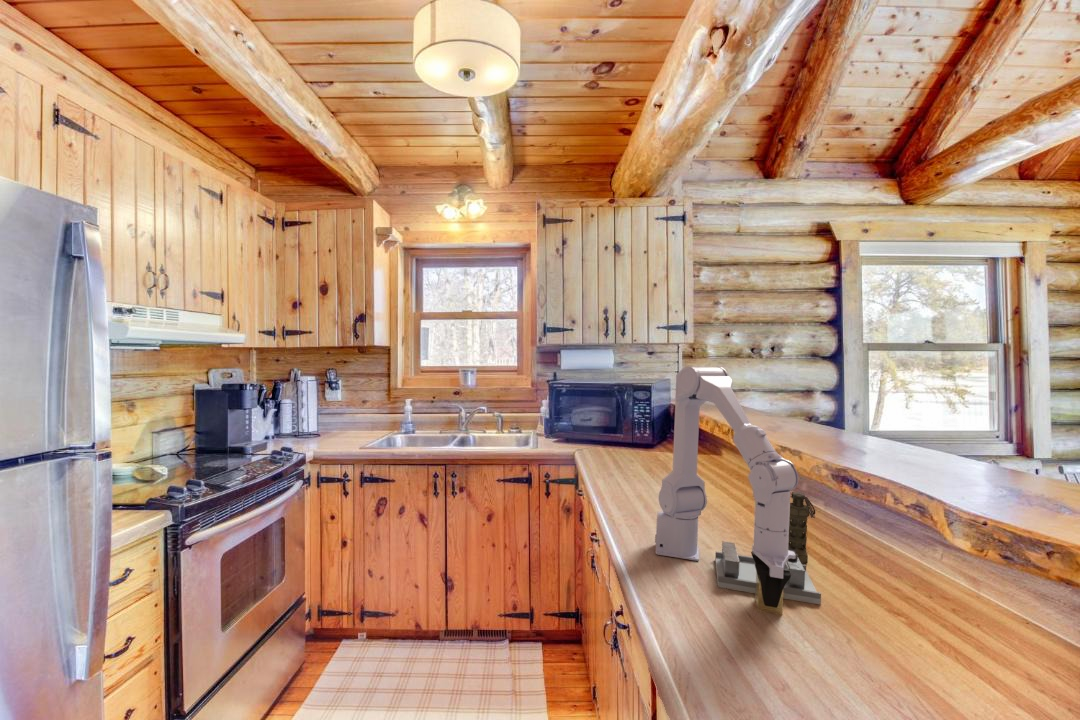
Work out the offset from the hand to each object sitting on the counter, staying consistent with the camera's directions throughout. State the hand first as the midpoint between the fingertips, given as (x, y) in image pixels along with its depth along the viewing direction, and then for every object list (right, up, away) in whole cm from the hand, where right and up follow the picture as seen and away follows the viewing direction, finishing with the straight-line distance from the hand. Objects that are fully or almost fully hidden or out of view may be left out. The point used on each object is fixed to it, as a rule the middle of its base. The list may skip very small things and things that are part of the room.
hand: (768, 599), depth 86 cm
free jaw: (+9, 0, +9) cm, 12 cm away
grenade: (+18, -2, +22) cm, 28 cm away
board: (+4, -1, +10) cm, 11 cm away
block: (0, -2, 0) cm, 2 cm away
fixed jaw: (-2, -1, +12) cm, 13 cm away
